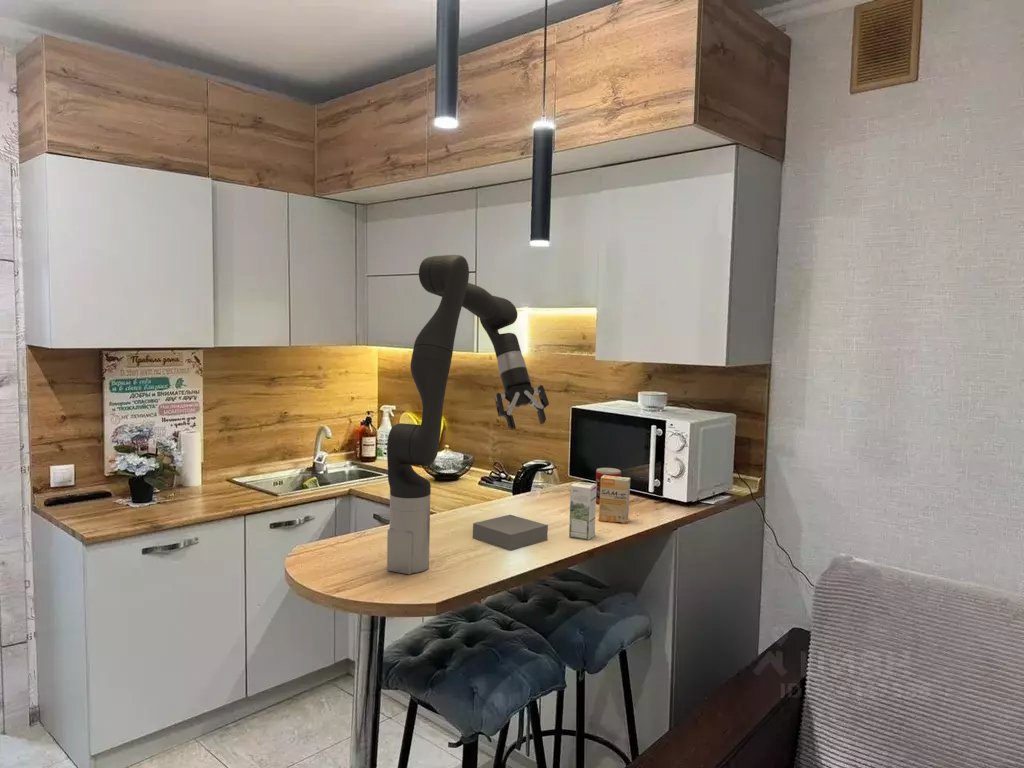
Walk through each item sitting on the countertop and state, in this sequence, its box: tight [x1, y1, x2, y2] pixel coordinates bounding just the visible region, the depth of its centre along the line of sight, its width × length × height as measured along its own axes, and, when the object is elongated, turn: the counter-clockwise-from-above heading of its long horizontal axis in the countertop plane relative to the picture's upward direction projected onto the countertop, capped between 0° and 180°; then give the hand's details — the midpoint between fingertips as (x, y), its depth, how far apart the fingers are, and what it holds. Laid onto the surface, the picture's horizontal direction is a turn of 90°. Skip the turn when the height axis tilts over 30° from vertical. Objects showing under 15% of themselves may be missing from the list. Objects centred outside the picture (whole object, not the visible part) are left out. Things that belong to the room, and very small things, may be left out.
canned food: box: [595, 467, 622, 505], centre depth 232 cm, size 8×8×11 cm
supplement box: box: [598, 475, 631, 524], centre depth 210 cm, size 8×5×13 cm, turn 71°
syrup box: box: [568, 481, 597, 541], centre depth 193 cm, size 6×6×14 cm
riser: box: [472, 514, 549, 551], centre depth 189 cm, size 14×14×4 cm
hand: (528, 426), depth 193 cm, fingers open, 8 cm apart
